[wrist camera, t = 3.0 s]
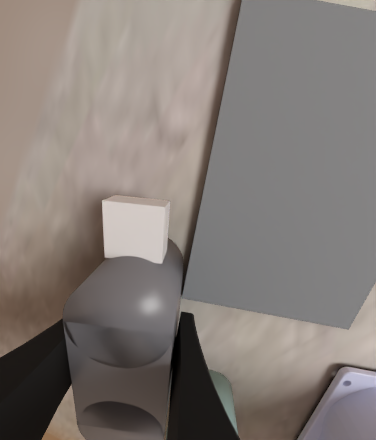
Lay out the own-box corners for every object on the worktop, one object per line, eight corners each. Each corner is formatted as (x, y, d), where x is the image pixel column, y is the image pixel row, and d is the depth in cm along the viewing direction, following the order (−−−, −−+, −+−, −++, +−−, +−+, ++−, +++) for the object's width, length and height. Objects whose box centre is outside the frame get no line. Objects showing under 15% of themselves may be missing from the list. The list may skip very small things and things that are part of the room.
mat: (343, 323, 12) (348, 329, 11) (182, 293, 12) (181, 298, 11) (499, 43, 7) (515, 36, 7) (242, -4, 7) (244, -13, 7)
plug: (174, 365, 13) (161, 461, 9) (118, 358, 14) (81, 449, 9) (190, 195, 10) (182, 223, 5) (113, 187, 10) (47, 209, 6)
